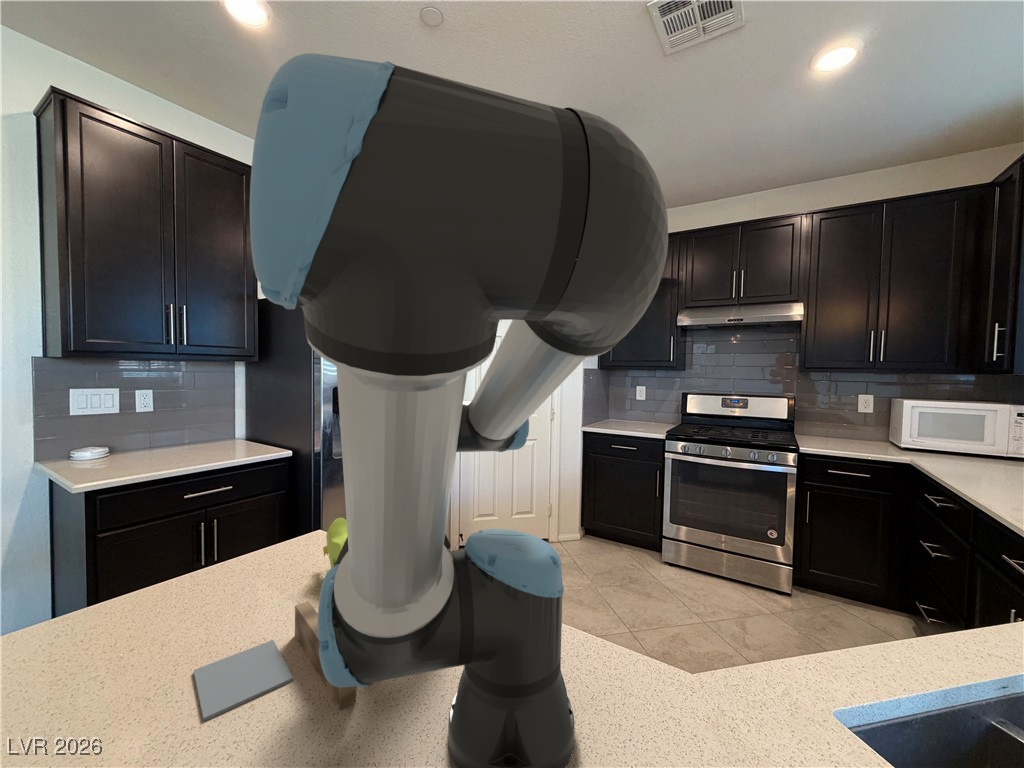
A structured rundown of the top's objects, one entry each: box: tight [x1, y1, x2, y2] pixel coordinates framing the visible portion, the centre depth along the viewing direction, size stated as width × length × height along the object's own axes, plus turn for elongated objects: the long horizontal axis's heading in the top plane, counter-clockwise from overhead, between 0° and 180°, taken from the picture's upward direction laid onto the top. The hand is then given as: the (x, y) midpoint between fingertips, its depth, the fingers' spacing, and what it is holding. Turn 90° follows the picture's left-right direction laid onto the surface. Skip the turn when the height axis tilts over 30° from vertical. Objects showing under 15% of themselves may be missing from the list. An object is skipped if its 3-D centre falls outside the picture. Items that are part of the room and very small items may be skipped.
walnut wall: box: [294, 600, 357, 710], centre depth 59 cm, size 20×2×5 cm, turn 43°
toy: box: [322, 517, 348, 569], centre depth 83 cm, size 6×17×20 cm
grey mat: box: [193, 639, 294, 722], centre depth 57 cm, size 11×10×1 cm
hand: (394, 607), depth 66 cm, fingers open, 13 cm apart
